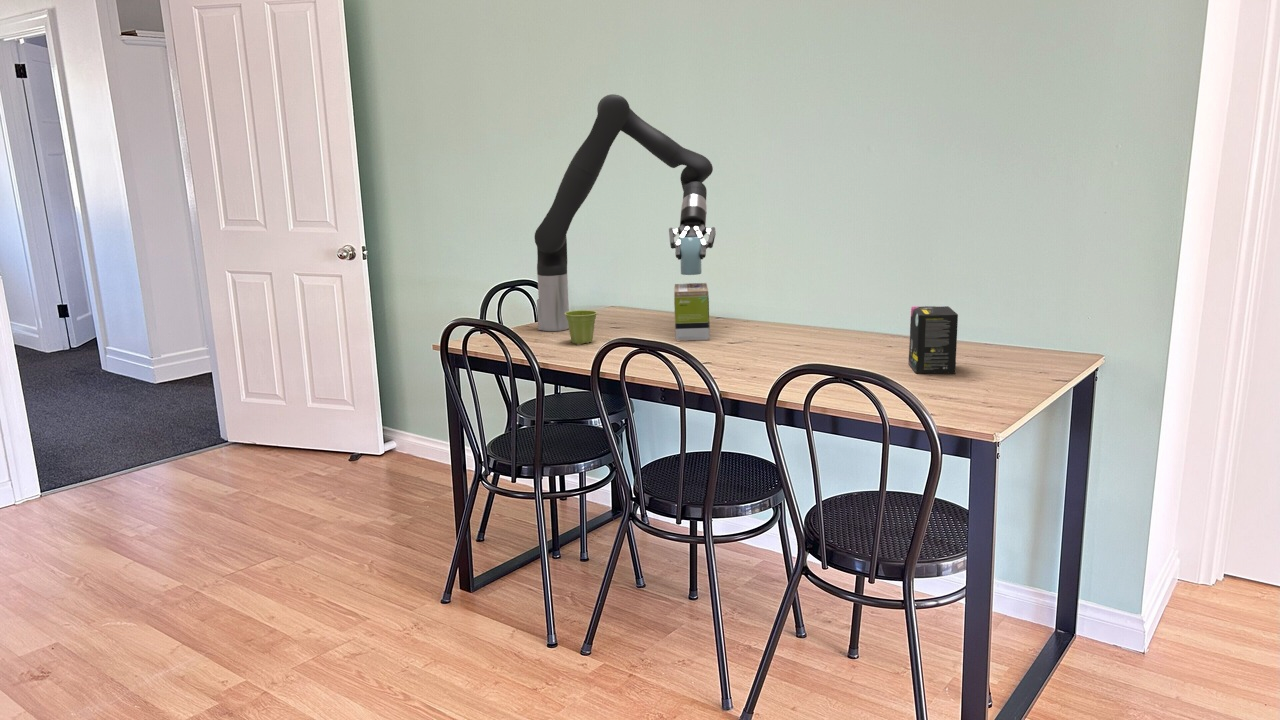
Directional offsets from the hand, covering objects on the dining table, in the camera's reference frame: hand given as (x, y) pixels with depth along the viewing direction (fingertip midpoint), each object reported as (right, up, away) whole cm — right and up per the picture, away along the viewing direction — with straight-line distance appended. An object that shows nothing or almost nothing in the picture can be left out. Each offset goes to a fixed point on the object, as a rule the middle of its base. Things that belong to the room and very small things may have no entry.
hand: (690, 257), depth 264 cm
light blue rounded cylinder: (0, -4, +3) cm, 5 cm away
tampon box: (+56, -32, -41) cm, 77 cm away
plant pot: (-31, -24, +2) cm, 40 cm away
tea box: (+1, -23, +7) cm, 24 cm away
